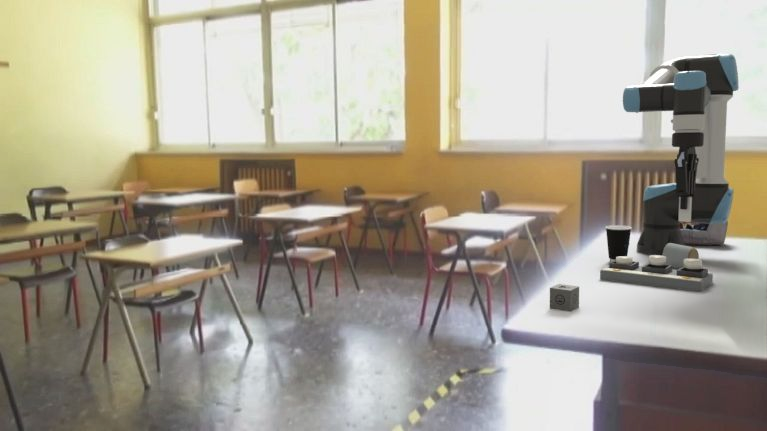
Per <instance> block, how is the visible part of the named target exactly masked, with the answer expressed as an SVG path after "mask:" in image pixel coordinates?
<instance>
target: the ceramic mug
mask: <svg viewBox="0 0 767 431" xmlns="http://www.w3.org/2000/svg"><path fill="white" fill-rule="evenodd" d="M699 254H700V253H699V251H698V249H697V248H695V247H693V246H690V245H685V246H684V245H678V244H674V243H668V244H667V245H666V246H665V248H664V250H663V254H662V255H661V256H665V257H666V265H672V269H673V270H678V269H680V268H682V267H683V265H684V259H699V258H700V255H699Z"/></svg>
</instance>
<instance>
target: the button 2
mask: <svg viewBox="0 0 767 431" xmlns="http://www.w3.org/2000/svg"><path fill="white" fill-rule="evenodd" d="M683 267H684V268H688V269H701V268H702V269H703V260H702V259H684V265H683Z"/></svg>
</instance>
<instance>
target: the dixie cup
mask: <svg viewBox="0 0 767 431" xmlns="http://www.w3.org/2000/svg"><path fill="white" fill-rule="evenodd" d="M632 229H633V227H631V226H629V225H607V226H605V230H606V243H607V252H608V259H609V263H611V262H613V261H615V260H616V257H618V256H628V253H629V246H630V238H631V232H632Z"/></svg>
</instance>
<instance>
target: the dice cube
mask: <svg viewBox="0 0 767 431" xmlns="http://www.w3.org/2000/svg"><path fill="white" fill-rule="evenodd" d="M579 307H580V286H579V285H570V284H565V283H564V284H563V283H558V284H556V285H553V286H551V287H549V309H551V310H557V311H562V312H569V313H570V312H573V311H574V310H576V309H579Z"/></svg>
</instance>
